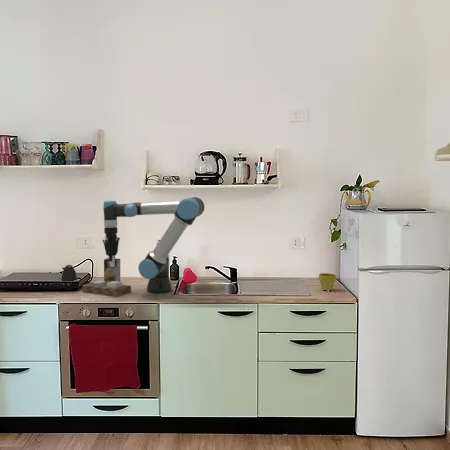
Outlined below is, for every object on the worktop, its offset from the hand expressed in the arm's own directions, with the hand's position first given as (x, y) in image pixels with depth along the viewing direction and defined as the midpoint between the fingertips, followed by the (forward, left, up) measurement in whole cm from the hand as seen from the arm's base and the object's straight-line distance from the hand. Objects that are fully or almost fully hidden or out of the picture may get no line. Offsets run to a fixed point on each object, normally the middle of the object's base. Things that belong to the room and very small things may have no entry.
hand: (112, 266), depth 305 cm
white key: (-2, 0, -13) cm, 13 cm away
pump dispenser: (+29, +5, -16) cm, 34 cm away
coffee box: (+17, -21, -16) cm, 32 cm away
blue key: (+10, 0, -14) cm, 17 cm away
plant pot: (-111, -69, -16) cm, 131 cm away
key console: (+4, 0, -16) cm, 16 cm away
